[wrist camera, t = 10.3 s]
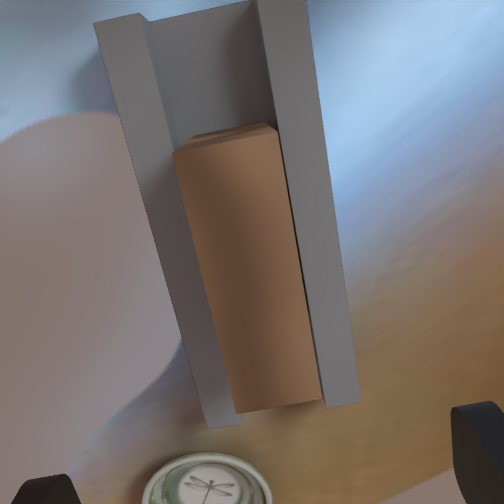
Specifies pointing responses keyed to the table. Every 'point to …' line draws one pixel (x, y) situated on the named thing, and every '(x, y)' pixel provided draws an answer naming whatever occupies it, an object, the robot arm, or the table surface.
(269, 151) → the wooden framed block
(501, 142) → the table surface
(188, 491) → the saucer
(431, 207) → the table surface
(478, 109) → the table surface
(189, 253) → the picture ledge
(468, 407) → the robot arm
